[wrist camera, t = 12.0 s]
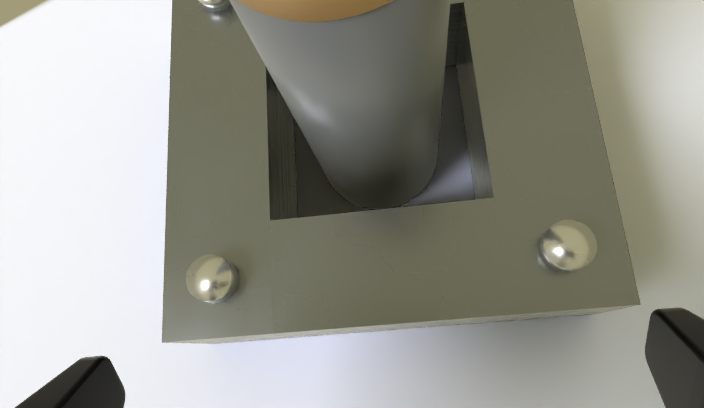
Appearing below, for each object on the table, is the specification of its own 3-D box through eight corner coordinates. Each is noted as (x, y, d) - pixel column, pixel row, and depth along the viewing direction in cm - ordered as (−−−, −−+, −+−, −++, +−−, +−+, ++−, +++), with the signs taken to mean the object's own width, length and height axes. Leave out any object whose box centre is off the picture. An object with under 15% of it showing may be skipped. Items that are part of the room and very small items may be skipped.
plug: (461, 131, 18) (552, -372, 5) (400, 232, 17) (343, -77, 5) (360, 81, 19) (241, -440, 6) (299, 174, 18) (32, -206, 6)
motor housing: (593, 314, 16) (651, 302, 12) (213, 343, 17) (150, 342, 13) (528, -18, 19) (555, -114, 15) (214, 27, 20) (164, -50, 16)
